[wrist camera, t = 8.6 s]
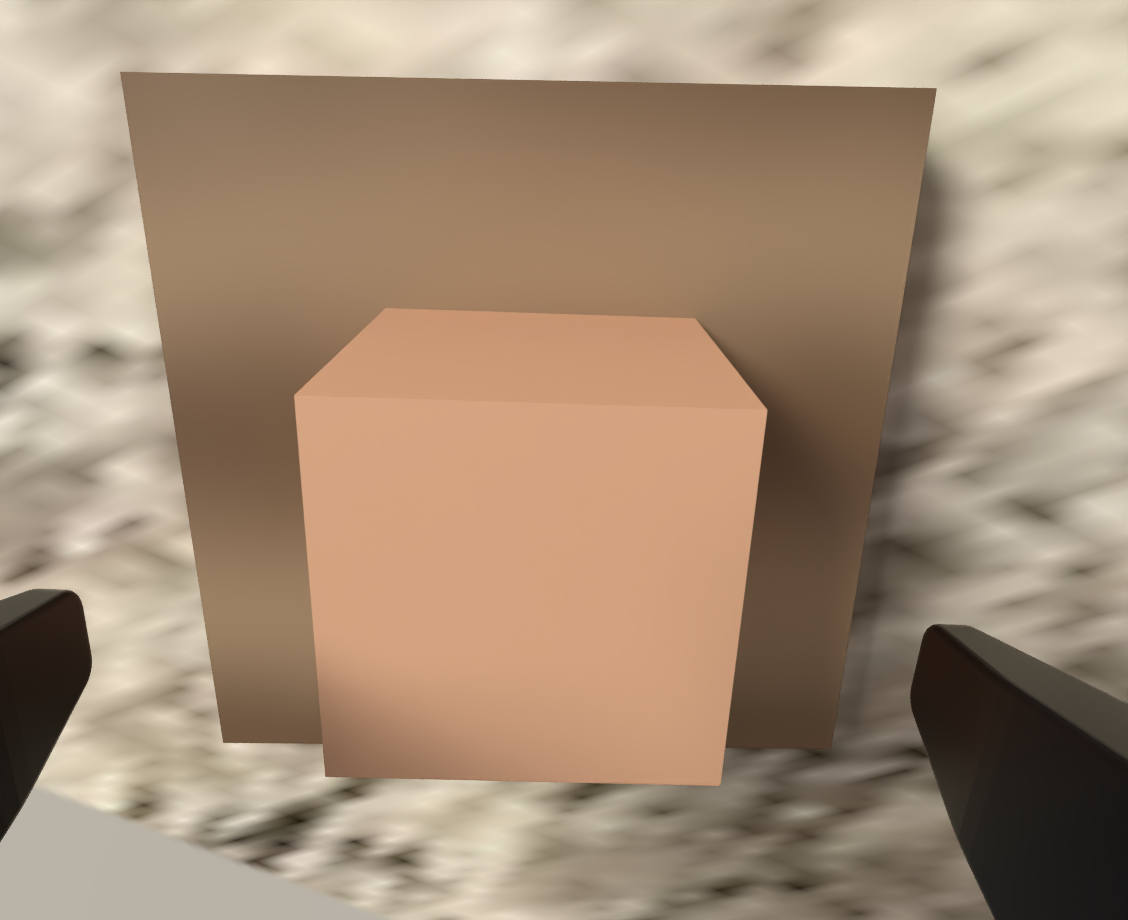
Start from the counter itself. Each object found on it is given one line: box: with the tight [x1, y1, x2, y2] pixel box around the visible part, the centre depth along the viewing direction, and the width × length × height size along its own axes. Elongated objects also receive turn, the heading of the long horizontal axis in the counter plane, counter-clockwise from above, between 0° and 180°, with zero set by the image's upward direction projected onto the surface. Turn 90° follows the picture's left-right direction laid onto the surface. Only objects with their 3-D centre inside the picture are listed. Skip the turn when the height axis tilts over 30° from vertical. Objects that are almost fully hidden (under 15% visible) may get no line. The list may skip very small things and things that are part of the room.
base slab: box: [120, 72, 937, 749], centre depth 16 cm, size 12×12×3 cm
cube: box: [294, 308, 767, 786], centre depth 12 cm, size 5×5×5 cm
